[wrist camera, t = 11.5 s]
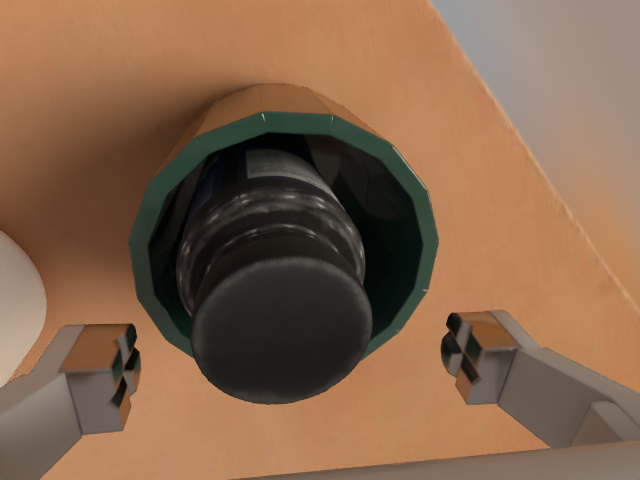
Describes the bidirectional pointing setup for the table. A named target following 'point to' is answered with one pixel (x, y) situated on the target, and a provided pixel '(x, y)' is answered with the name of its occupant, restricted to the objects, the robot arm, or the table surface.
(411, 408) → the table surface
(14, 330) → the cup
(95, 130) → the table surface
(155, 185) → the green cup
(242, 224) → the pill bottle
